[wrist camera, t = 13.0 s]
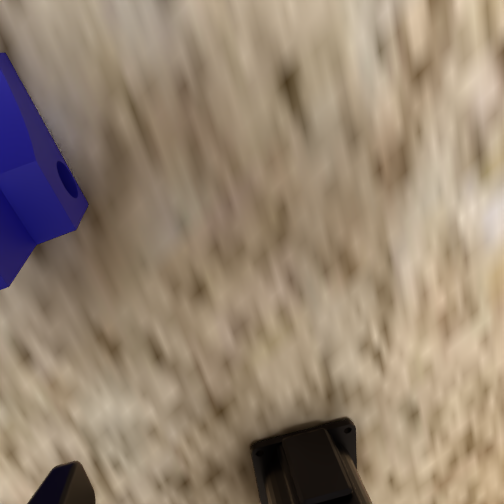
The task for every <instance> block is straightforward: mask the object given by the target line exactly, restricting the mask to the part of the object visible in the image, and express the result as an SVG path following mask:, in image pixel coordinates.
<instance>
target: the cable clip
mask: <svg viewBox="0 0 504 504" xmlns="http://www.w3.org/2000/svg"><path fill="white" fill-rule="evenodd" d="M88 205H89V204H88V202H87V200H86V199H85V197H84V195H83V193H82V191H81V189H80V188H79V186H78V184H77V182H76V180H75V179H74V177H73V175H72V173H71V171H70V169H69V168H68V166H67V164H66V162H65V160H64V158H63V157H62V155H61V153H60V151H59V149H58V148H57V146H56V144H55V142H54V140H53V138H52V137H51V135H50V133H49V131H48V129H47V127H46V126H45V124H44V122H43V120H42V118H41V117H40V115H39V113H38V111H37V109H36V107H35V106H34V104H33V102H32V100H31V98H30V96H29V95H28V93H27V91H26V89H25V87H24V86H23V84H22V82H21V80H20V78H19V76H18V75H17V73H16V71H15V69H14V67H13V65H12V64H11V62H10V60H9V58H8V56H7V55H6V53H0V290H1V289H4V288H7V287H9V286H10V284H11V283H12V281H13V280H14V278H15V277H16V275H17V274H18V272H19V271H20V269H21V268H22V266H23V265H24V263H25V262H26V260H27V259H28V257H29V255H30V254H31V252H32V251H33V249H34V248H35V246H36V245H37V244H40V243H43V242H45V241H48V240H51V239H53V238H56V237H59V236H61V235H64V234H67V233H69V232H72V231H74V230H76V229H77V227H78V225H79V223H80V221H81V219H82V217H83V215H84V213H85V211H86V209H87V207H88Z"/></svg>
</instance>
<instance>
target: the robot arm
mask: <svg viewBox="0 0 504 504" xmlns="http://www.w3.org/2000/svg"><path fill="white" fill-rule="evenodd" d="M250 450H251V455H252V460H253V465H254V470H255V476H256V481H257V486H258V491H259V496H260V501H261V504H372V502H371V500H370V498H369V495H368V493H367V491H366V489H365V487H364V485H363V483H362V480H361V478H360V476H359V474H358V472H357V458H356V428H355V425H354V423H353V422H352V421H351V420H349V419H345V420H341V421H337V422H334V423H330V424H326V425H322V426H318V427H314V428H310V429H306V430H303V431H299V432H295V433H291V434H287V435H283V436H279V437H275V438H271V439H268V440H264V441H260V442H257V443H254V444H253V445H252V446H251V449H250ZM27 504H95V493H94V489H93V487H92V485H91V483H90V481H89V478H88V476H87V474H86V472H85V470H84V468H83V466H82V464H81V463H80V462H78V461H73V462H69V463H65V464H61V465H58V466H56V467H54V468H53V469H52V470H51V471H50V473H49V474H48V476H47V477H46V478H45V480H44V481H43V483H42V484H41V485H40V487H39V488H38V489H37V491H36V492H35V494H34V495H33V496H32V498H31V499H30V501H29V502H28V503H27Z"/></svg>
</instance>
